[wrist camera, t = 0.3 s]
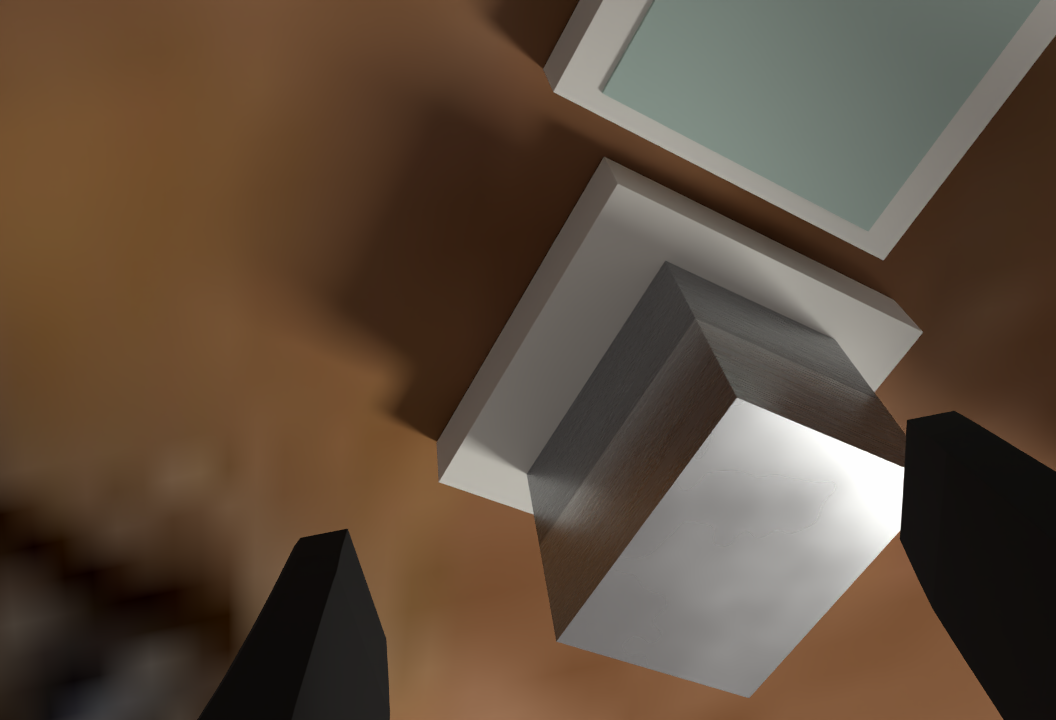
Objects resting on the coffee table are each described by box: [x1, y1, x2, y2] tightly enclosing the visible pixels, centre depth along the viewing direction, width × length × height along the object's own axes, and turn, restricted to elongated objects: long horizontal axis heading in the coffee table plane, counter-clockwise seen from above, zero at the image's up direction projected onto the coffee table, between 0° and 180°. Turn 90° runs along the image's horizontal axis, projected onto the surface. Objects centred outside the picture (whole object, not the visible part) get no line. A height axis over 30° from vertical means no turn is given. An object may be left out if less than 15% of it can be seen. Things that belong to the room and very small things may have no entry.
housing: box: [527, 261, 906, 698], centre depth 20 cm, size 4×6×5 cm
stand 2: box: [437, 157, 923, 514], centre depth 23 cm, size 8×8×2 cm
